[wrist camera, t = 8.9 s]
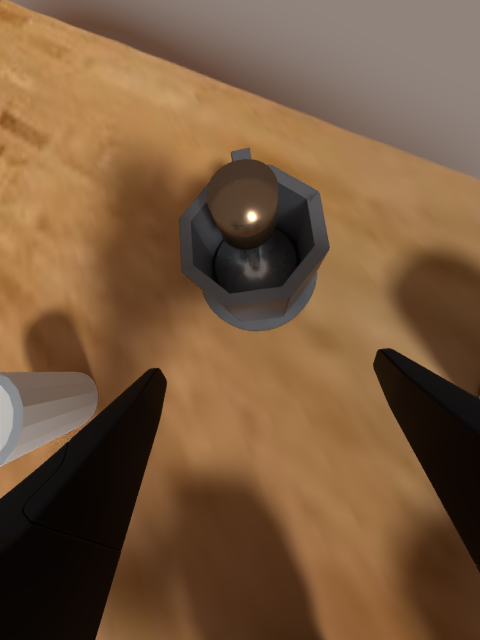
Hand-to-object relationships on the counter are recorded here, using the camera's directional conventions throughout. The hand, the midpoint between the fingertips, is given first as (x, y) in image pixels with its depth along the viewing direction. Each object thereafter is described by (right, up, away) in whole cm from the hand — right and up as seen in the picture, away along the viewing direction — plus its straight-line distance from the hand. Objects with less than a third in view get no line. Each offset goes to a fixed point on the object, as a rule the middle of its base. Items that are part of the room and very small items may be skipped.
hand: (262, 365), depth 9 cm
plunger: (0, +7, +9) cm, 11 cm away
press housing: (+1, +6, +12) cm, 13 cm away
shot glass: (-18, -6, +13) cm, 23 cm away
